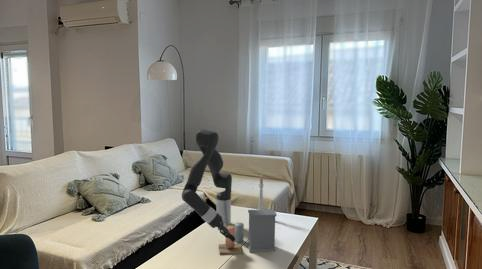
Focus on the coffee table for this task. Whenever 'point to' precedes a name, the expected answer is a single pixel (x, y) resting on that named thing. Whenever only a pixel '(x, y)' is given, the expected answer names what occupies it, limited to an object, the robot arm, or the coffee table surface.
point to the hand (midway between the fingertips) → (233, 237)
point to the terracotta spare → (228, 241)
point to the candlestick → (261, 193)
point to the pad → (230, 249)
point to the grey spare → (239, 232)
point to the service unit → (261, 230)
